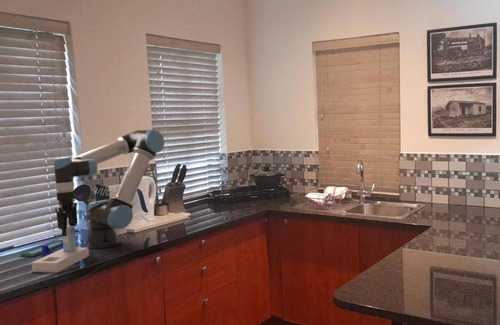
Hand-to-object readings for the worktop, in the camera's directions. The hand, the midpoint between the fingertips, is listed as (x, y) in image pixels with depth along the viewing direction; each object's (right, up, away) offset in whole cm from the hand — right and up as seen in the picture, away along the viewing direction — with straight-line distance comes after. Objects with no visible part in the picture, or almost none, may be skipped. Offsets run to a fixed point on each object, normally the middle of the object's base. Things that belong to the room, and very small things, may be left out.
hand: (69, 241), depth 224 cm
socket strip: (-1, -10, -6) cm, 11 cm away
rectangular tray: (-21, -9, +25) cm, 34 cm away
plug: (0, -5, 0) cm, 5 cm away
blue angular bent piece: (-11, -9, +14) cm, 20 cm away
